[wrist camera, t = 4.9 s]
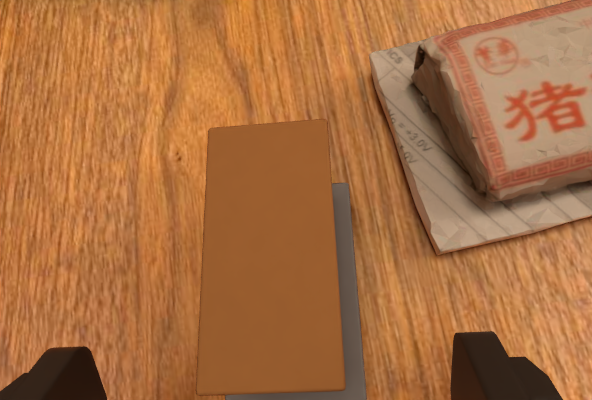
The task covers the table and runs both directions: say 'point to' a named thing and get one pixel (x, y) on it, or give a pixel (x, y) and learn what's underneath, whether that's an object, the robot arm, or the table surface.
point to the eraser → (277, 269)
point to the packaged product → (494, 124)
